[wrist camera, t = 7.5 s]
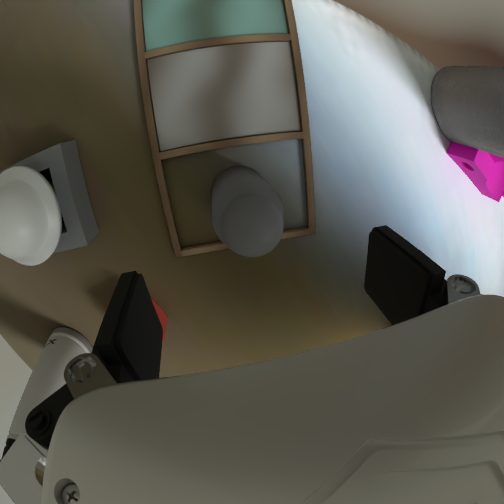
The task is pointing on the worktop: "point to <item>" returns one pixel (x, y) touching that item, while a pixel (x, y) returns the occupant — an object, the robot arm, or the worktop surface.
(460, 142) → the pillar candle
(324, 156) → the worktop surface
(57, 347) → the travel mug
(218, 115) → the brown flat rectangular frame
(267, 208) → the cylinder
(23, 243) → the dome
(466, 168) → the toy block
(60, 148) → the collar
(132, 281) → the robot arm
